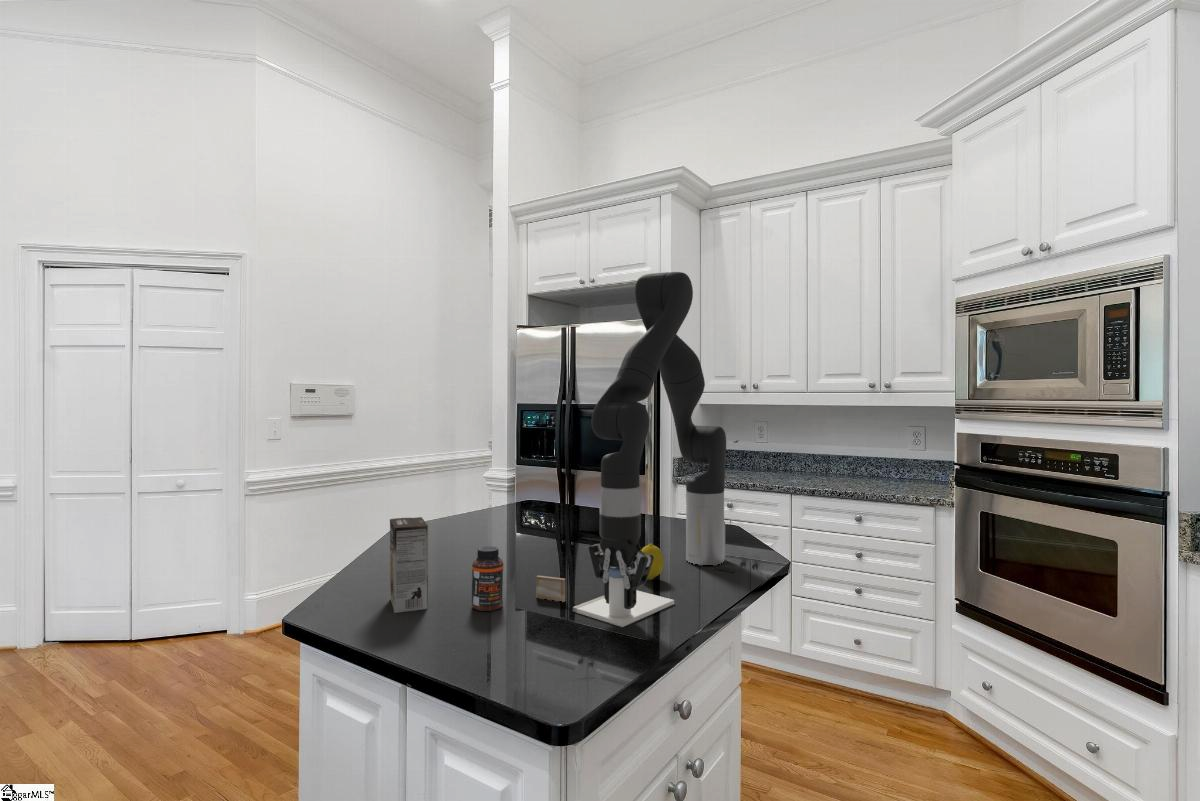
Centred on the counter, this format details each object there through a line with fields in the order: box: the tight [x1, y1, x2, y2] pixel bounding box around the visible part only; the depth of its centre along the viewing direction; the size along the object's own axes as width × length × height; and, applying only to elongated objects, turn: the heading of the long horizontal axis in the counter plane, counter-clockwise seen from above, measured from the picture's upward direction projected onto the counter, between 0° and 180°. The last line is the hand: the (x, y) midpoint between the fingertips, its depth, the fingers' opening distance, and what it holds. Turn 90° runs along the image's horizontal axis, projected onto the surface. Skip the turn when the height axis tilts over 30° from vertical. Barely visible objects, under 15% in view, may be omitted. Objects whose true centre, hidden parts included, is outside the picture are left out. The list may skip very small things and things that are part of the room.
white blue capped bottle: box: [608, 567, 631, 617], centre depth 113 cm, size 4×4×8 cm
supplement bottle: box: [471, 545, 504, 612], centre depth 119 cm, size 6×6×11 cm
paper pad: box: [572, 589, 675, 628], centre depth 119 cm, size 16×12×1 cm
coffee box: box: [389, 516, 429, 614], centre depth 121 cm, size 9×6×16 cm
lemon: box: [641, 543, 664, 581], centre depth 137 cm, size 6×6×8 cm
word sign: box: [535, 575, 566, 603], centre depth 123 cm, size 1×6×4 cm, turn 69°
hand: (620, 604), depth 113 cm, fingers closed on white blue capped bottle, 3 cm apart
